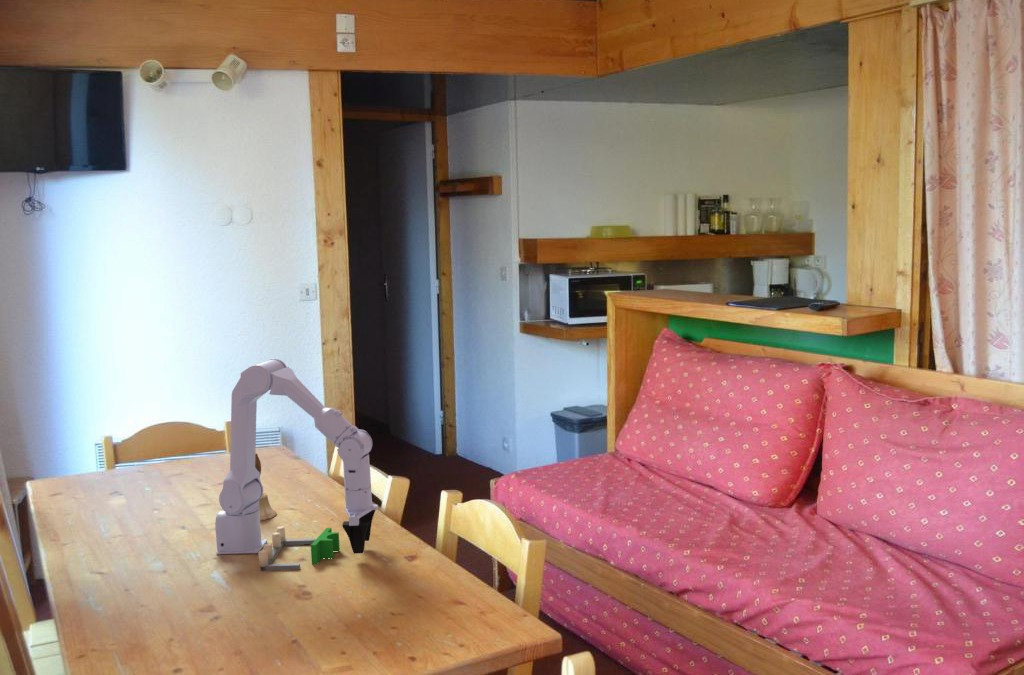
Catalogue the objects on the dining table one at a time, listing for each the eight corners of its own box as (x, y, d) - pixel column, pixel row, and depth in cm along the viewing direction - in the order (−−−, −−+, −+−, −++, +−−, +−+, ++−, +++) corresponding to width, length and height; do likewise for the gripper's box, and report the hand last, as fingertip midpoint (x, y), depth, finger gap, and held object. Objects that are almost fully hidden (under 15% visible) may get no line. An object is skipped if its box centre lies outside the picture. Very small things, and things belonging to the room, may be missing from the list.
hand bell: (235, 519, 240) (230, 457, 238) (256, 509, 248) (251, 448, 246) (263, 522, 237) (258, 459, 235) (283, 512, 245) (279, 451, 243)
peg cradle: (258, 571, 205) (257, 553, 205) (278, 543, 222) (277, 526, 222) (298, 570, 205) (297, 552, 205) (315, 542, 222) (314, 525, 221)
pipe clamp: (328, 565, 208) (327, 545, 207) (311, 565, 208) (310, 545, 208) (343, 546, 219) (342, 527, 218) (327, 546, 219) (326, 527, 219)
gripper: (370, 496, 204) (374, 558, 206) (381, 476, 218) (384, 534, 220) (337, 497, 204) (341, 559, 206) (349, 477, 218) (353, 535, 220)
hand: (361, 546), depth 213 cm, fingers open, 7 cm apart
